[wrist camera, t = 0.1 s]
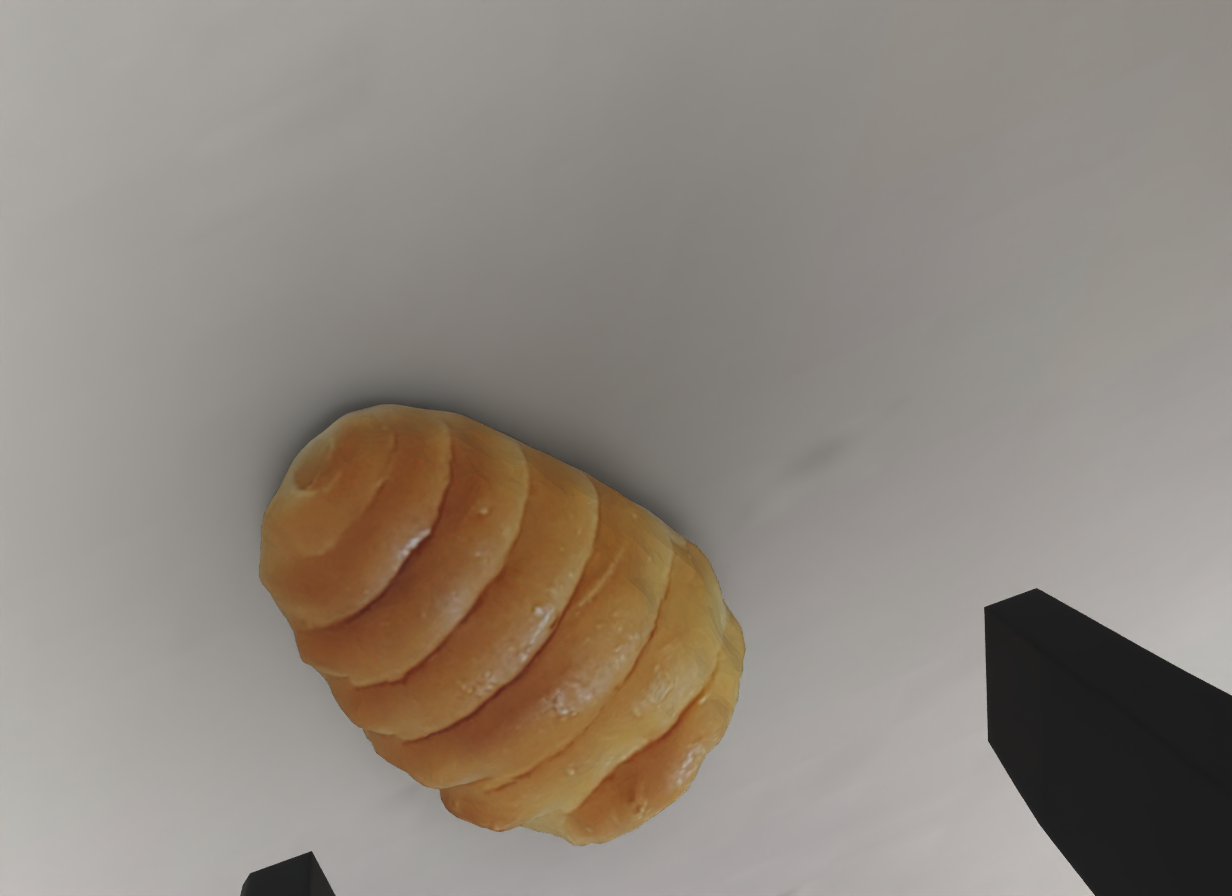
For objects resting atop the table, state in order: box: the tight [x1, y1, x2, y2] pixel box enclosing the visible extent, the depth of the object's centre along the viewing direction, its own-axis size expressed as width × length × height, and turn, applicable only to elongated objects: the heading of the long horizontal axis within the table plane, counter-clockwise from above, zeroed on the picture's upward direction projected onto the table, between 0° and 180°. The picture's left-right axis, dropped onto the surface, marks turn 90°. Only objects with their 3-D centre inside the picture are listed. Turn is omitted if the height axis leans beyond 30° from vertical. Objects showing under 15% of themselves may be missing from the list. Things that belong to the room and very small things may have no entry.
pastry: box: [259, 404, 745, 846], centre depth 21 cm, size 9×7×4 cm
